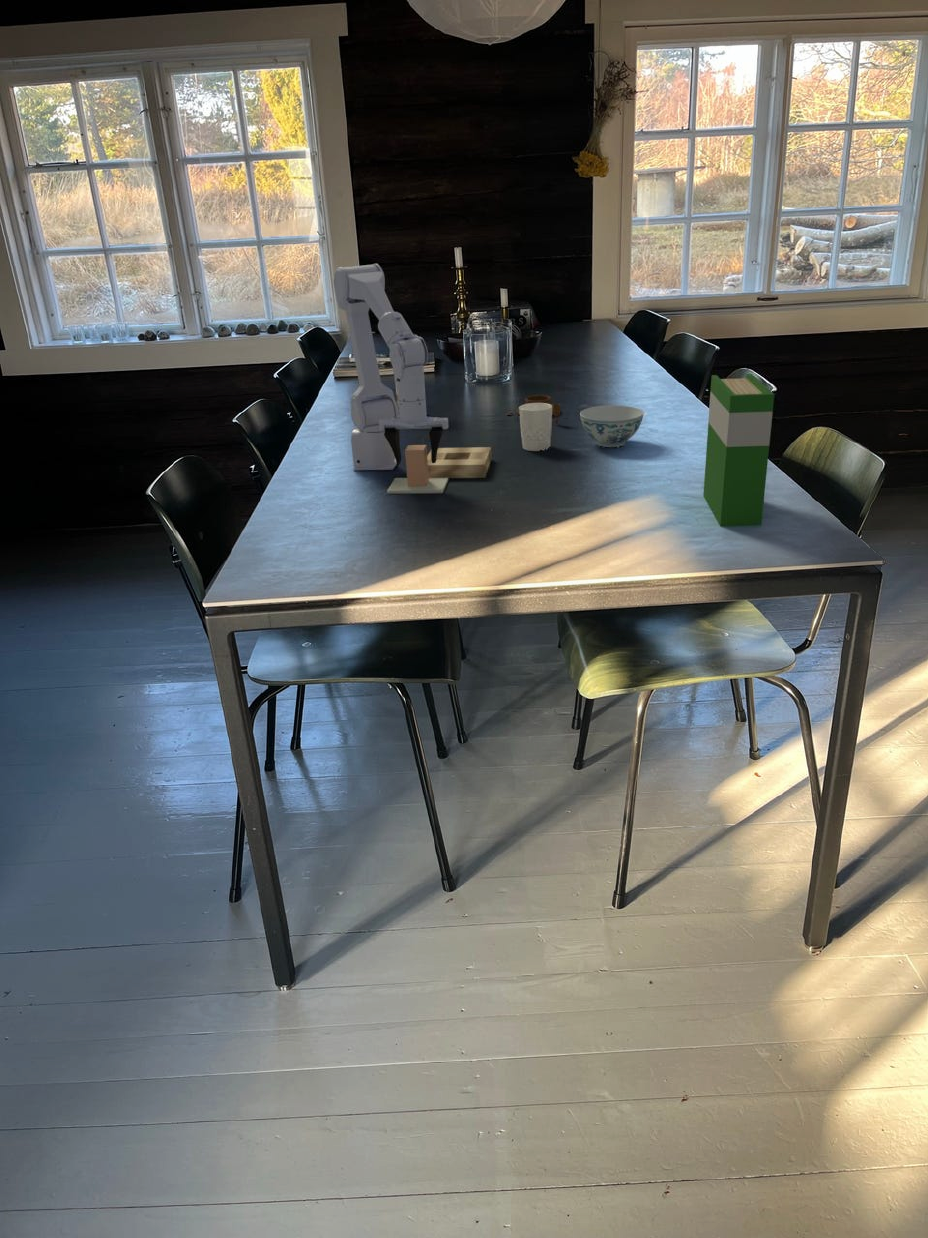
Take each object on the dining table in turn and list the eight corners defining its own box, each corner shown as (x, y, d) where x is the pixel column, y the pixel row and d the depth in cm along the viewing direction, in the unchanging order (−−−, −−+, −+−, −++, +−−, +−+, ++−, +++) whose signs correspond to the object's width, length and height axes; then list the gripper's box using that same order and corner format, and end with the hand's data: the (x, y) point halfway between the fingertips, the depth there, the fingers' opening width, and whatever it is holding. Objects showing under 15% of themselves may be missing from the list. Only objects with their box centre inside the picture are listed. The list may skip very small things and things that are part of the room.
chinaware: (641, 453, 214) (642, 420, 210) (577, 452, 217) (577, 420, 213) (643, 436, 227) (644, 405, 223) (582, 436, 230) (582, 405, 226)
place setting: (573, 410, 257) (573, 389, 254) (562, 428, 240) (562, 406, 237) (512, 409, 261) (511, 389, 259) (497, 427, 244) (496, 405, 241)
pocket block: (422, 478, 204) (422, 465, 203) (432, 460, 217) (431, 447, 215) (485, 477, 202) (484, 464, 201) (491, 459, 215) (490, 447, 213)
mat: (387, 493, 196) (386, 490, 195) (395, 480, 204) (395, 477, 203) (442, 493, 194) (442, 490, 194) (448, 480, 202) (448, 477, 202)
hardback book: (703, 495, 184) (711, 375, 174) (740, 494, 184) (751, 373, 173) (720, 526, 168) (730, 395, 158) (761, 525, 168) (774, 394, 157)
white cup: (526, 453, 218) (525, 411, 214) (515, 445, 225) (514, 404, 220) (557, 449, 220) (557, 408, 215) (545, 441, 227) (545, 401, 222)
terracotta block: (407, 486, 197) (404, 450, 194) (411, 480, 201) (408, 445, 197) (426, 486, 197) (423, 449, 193) (428, 480, 200) (426, 444, 197)
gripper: (373, 403, 188) (379, 467, 194) (443, 402, 186) (447, 466, 192) (380, 395, 194) (386, 458, 200) (448, 394, 192) (451, 457, 198)
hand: (416, 461), depth 196 cm, fingers open, 7 cm apart
